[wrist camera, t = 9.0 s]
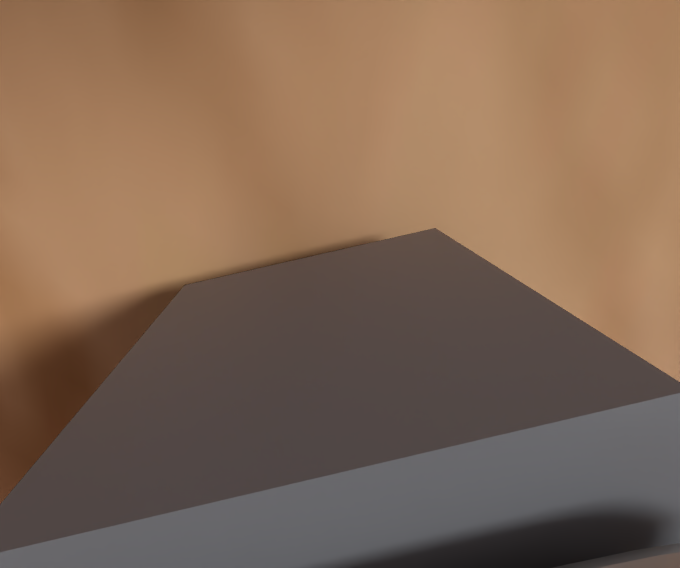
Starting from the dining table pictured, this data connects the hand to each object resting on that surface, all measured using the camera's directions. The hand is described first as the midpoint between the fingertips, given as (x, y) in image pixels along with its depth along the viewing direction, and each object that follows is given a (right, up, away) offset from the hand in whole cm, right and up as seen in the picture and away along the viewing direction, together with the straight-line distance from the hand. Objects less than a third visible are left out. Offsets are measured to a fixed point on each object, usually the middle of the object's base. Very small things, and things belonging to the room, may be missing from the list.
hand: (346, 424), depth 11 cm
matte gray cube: (0, +1, +3) cm, 3 cm away
